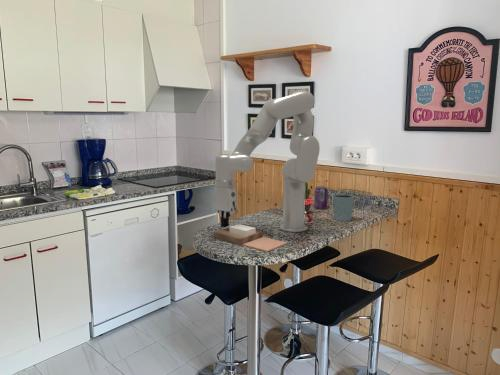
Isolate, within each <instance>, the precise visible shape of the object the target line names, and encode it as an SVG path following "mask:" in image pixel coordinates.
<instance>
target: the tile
mask: <svg viewBox="0 0 500 375" xmlns="http://www.w3.org/2000/svg"><path fill="white" fill-rule="evenodd" d="M229 227H230V233H233V234H237V235H241V236H245V237H247V236H250V235H253V234H256V230H257V229H256V227H253V226H249V225H246V224H245V225H244V224H241V223H239V224H235V225H232V226H229Z"/></svg>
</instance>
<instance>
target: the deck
mask: <svg viewBox="0 0 500 375" xmlns="http://www.w3.org/2000/svg"><path fill="white" fill-rule="evenodd" d="M230 227H231V226H228V227H225V228H223V229H219V230H217V231H213V232H212V236H213V237H212V238H213V239H216V240H220V241H221V242H227V243H230V244H234V245H237V246H244V245H243V244H245V243H248V242H250V241H253V240H256V239H259V238H262V237H264V236H263V234H264V232H263V231H261V230H257V229H256V234H253V235H250V236H247V237H245V236H241V235H237V234H233V233H230Z"/></svg>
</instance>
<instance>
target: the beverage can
mask: <svg viewBox="0 0 500 375" xmlns="http://www.w3.org/2000/svg"><path fill="white" fill-rule="evenodd" d="M328 195H329V190H328V187H327V186H325V185H323V186H322V185H319V186H318V185H317V186H316V187H315V189H314V204H313V205H314V208H315V209H317V210H326V209H327V208H328V201H329V200H328Z"/></svg>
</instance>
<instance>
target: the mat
mask: <svg viewBox="0 0 500 375" xmlns="http://www.w3.org/2000/svg"><path fill="white" fill-rule="evenodd" d="M287 244H288V241H287V242H286V241H282V240H279V239H276V238H275V239H274V238H269V237H266V236H263V237H262V238H259V239H256V240H253V241H250V242H248V243H245V244H243V245H242V246H246V247H248V248H252V249H256V250H259V251H263V252H267V253H268V252H270V251H273V250H274V249H275V250H276V249H277V248H280V247H282V246H285V245H287Z"/></svg>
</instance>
